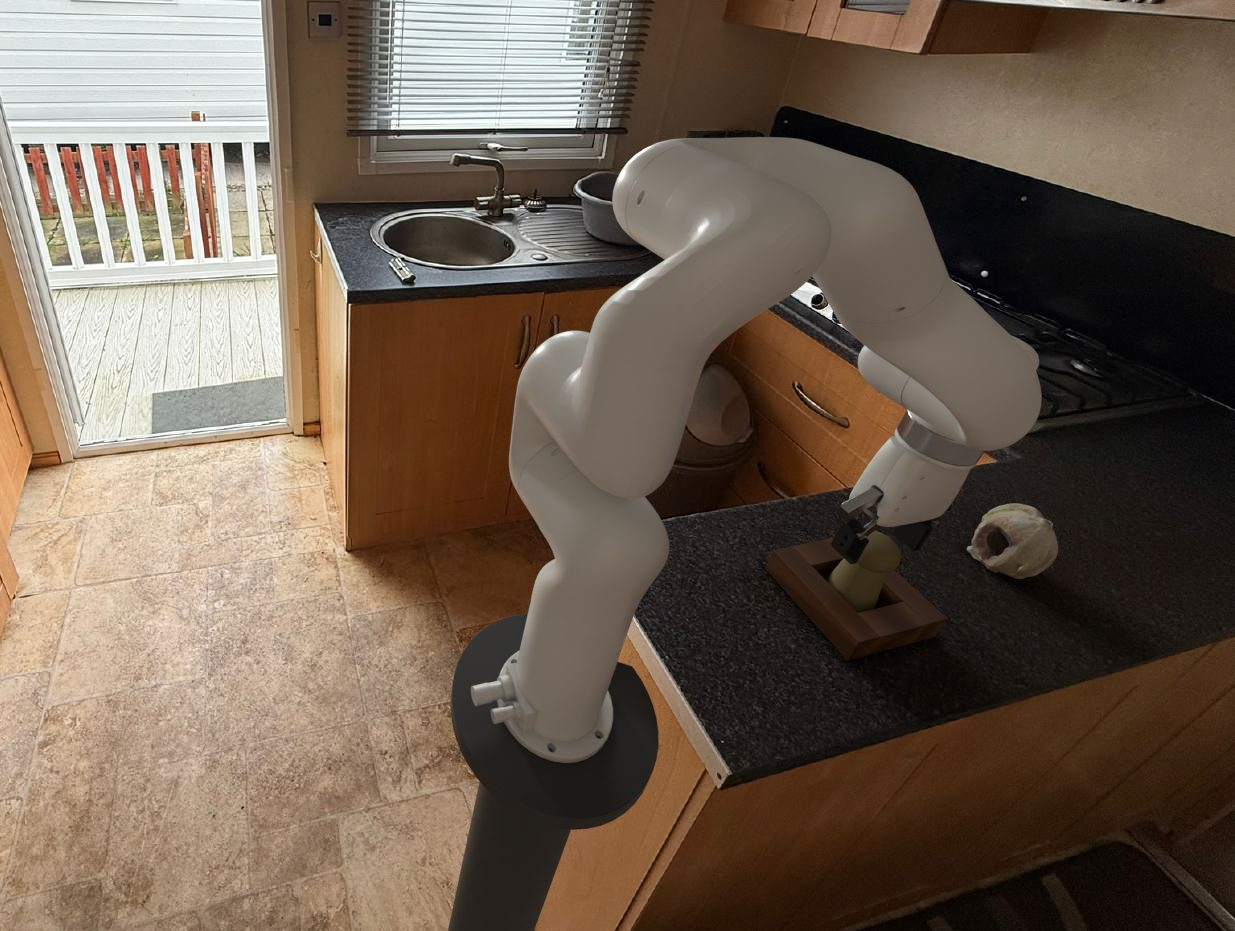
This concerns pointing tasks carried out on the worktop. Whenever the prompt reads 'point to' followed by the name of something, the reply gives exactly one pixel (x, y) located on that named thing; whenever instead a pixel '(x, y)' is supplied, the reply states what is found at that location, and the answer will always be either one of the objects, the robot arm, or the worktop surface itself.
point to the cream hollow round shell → (1015, 541)
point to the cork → (866, 573)
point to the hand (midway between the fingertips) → (874, 548)
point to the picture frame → (846, 629)
